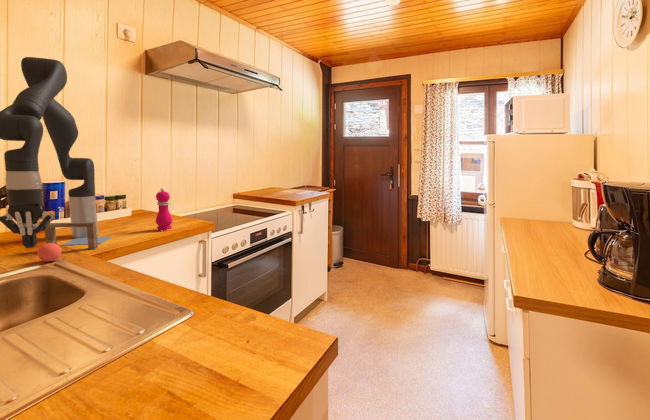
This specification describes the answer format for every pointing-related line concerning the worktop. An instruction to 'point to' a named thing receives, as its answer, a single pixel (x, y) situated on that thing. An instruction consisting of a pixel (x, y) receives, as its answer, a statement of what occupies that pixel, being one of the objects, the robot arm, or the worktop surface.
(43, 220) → the robot arm
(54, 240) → the bridge
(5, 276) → the worktop surface
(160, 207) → the pepper mill
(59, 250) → the ball
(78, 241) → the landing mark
